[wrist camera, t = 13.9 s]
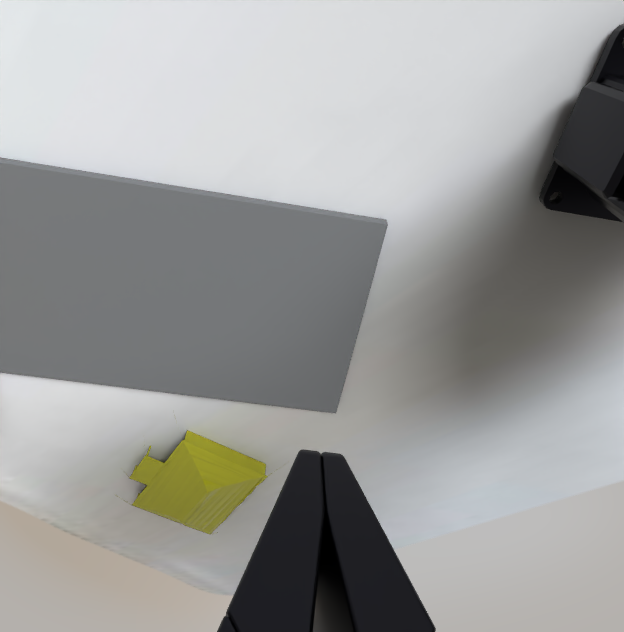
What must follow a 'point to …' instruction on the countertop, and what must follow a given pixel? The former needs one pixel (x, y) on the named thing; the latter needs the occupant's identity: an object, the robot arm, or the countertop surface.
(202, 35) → the countertop surface
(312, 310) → the charcoal mat
